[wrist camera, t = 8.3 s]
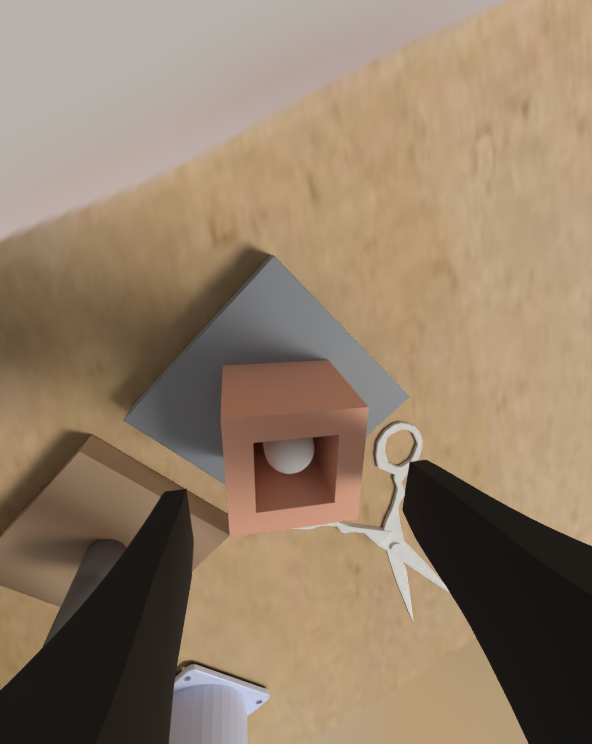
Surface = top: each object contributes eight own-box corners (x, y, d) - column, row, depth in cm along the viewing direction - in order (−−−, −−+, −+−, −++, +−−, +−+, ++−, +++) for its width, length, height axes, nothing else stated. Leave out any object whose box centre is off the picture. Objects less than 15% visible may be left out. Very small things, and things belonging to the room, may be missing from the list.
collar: (324, 448, 18) (357, 519, 13) (229, 457, 17) (229, 537, 12) (328, 360, 16) (368, 407, 12) (222, 365, 15) (220, 418, 11)
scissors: (402, 396, 19) (493, 580, 27) (395, 391, 20) (487, 572, 28) (246, 492, 20) (381, 646, 27) (245, 483, 20) (377, 636, 28)
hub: (275, 500, 20) (293, 594, 15) (131, 405, 17) (85, 486, 11) (396, 385, 19) (464, 443, 14) (270, 254, 15) (294, 262, 10)
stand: (134, 606, 21) (102, 732, 16) (-12, 548, 18) (-117, 683, 12) (229, 515, 20) (230, 617, 15) (91, 434, 17) (25, 527, 11)
